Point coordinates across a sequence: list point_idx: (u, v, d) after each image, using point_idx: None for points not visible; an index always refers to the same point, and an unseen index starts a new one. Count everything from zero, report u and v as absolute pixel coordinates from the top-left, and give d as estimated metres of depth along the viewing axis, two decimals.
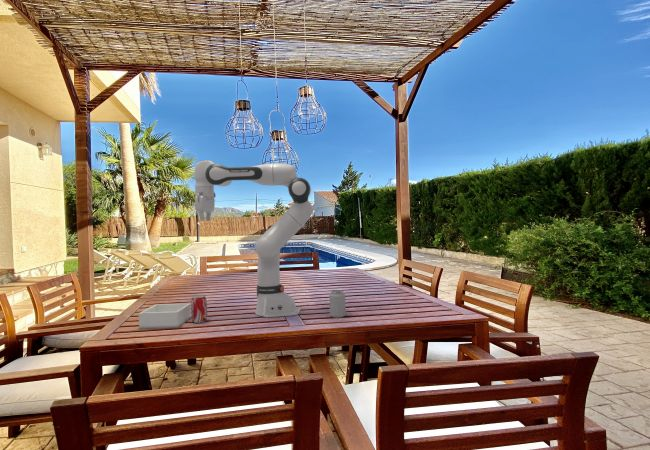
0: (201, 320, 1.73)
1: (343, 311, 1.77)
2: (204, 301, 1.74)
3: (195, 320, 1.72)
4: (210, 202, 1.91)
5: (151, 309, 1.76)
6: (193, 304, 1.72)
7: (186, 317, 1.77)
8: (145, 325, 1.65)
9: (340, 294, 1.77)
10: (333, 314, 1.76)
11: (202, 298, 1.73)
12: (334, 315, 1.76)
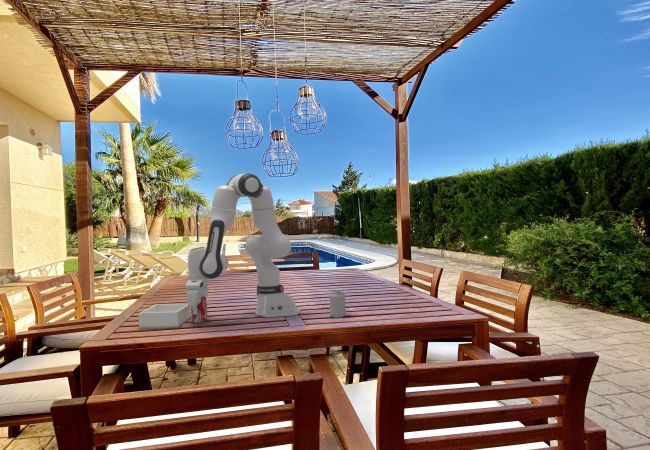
0: (201, 320, 1.72)
1: (343, 311, 1.77)
2: (204, 301, 1.74)
3: (195, 320, 1.72)
4: None
5: (151, 309, 1.76)
6: None
7: (186, 317, 1.77)
8: (145, 325, 1.65)
9: (340, 294, 1.77)
10: (333, 314, 1.76)
11: (202, 298, 1.73)
12: (334, 315, 1.76)
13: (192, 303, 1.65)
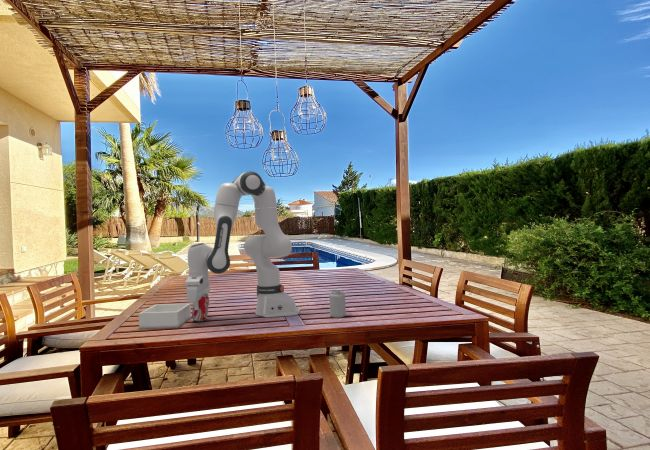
0: (201, 319, 1.74)
1: (343, 311, 1.77)
2: (206, 300, 1.75)
3: (195, 318, 1.73)
4: None
5: (151, 309, 1.76)
6: None
7: (186, 317, 1.77)
8: (145, 325, 1.65)
9: (340, 294, 1.77)
10: (333, 314, 1.76)
11: (205, 297, 1.74)
12: (334, 315, 1.76)
13: (192, 299, 1.66)
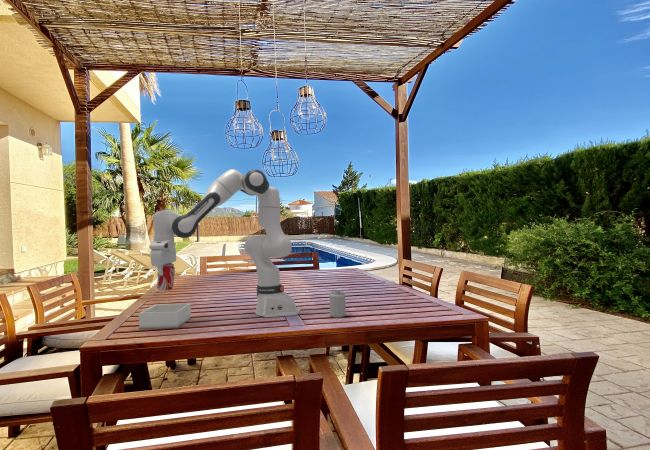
0: (166, 288, 1.71)
1: (343, 311, 1.77)
2: (172, 270, 1.72)
3: (160, 287, 1.71)
4: None
5: (151, 309, 1.76)
6: None
7: (186, 317, 1.77)
8: (145, 325, 1.65)
9: (340, 294, 1.77)
10: (333, 314, 1.76)
11: (170, 267, 1.72)
12: (334, 315, 1.76)
13: (156, 263, 1.64)
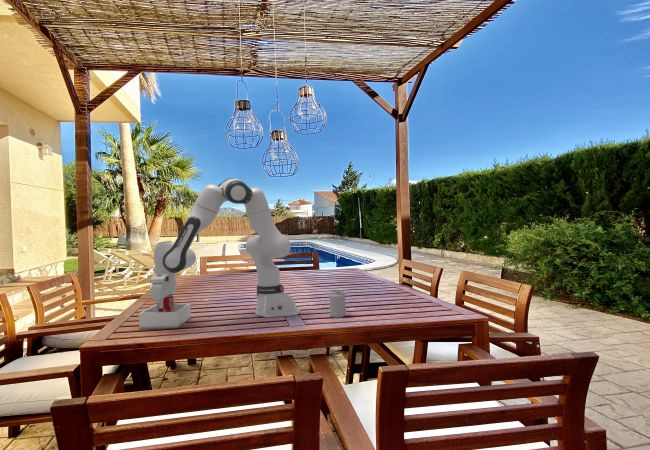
0: None
1: (343, 311, 1.77)
2: (171, 300, 1.72)
3: None
4: None
5: (151, 309, 1.76)
6: None
7: (186, 317, 1.77)
8: (145, 325, 1.65)
9: (340, 294, 1.77)
10: (333, 314, 1.76)
11: (169, 297, 1.72)
12: (334, 315, 1.76)
13: (156, 297, 1.64)
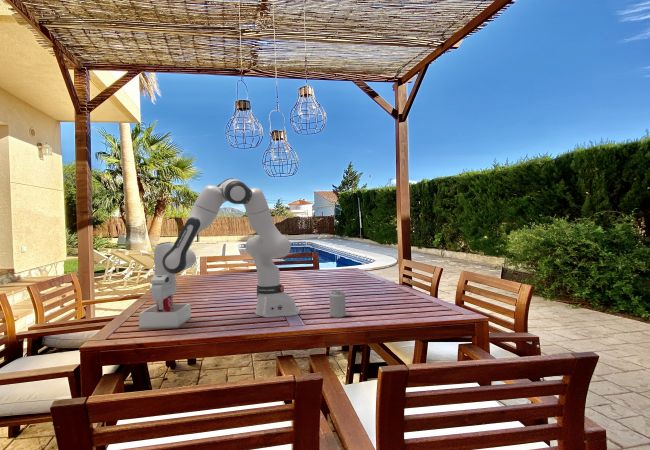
0: None
1: (343, 311, 1.77)
2: (169, 300, 1.73)
3: None
4: None
5: (151, 309, 1.76)
6: None
7: (186, 317, 1.77)
8: (145, 325, 1.65)
9: (340, 294, 1.77)
10: (333, 314, 1.76)
11: (167, 297, 1.72)
12: (334, 315, 1.76)
13: (157, 298, 1.64)
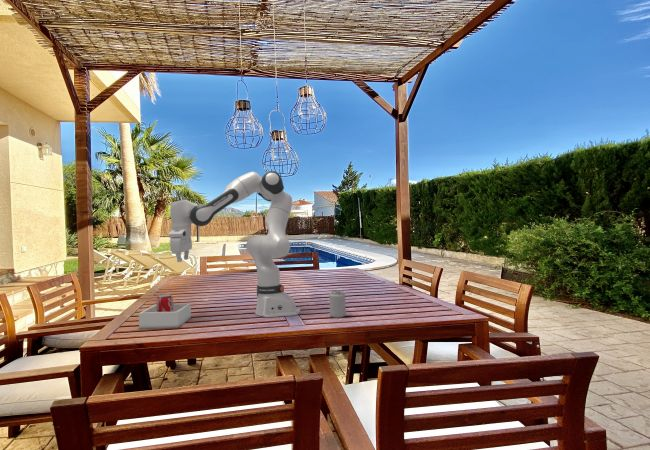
0: None
1: (343, 311, 1.77)
2: (170, 300, 1.73)
3: None
4: None
5: (151, 309, 1.76)
6: (158, 303, 1.71)
7: (186, 317, 1.77)
8: (145, 325, 1.65)
9: (340, 294, 1.77)
10: (333, 314, 1.76)
11: (167, 297, 1.72)
12: (334, 315, 1.76)
13: (175, 250, 1.74)
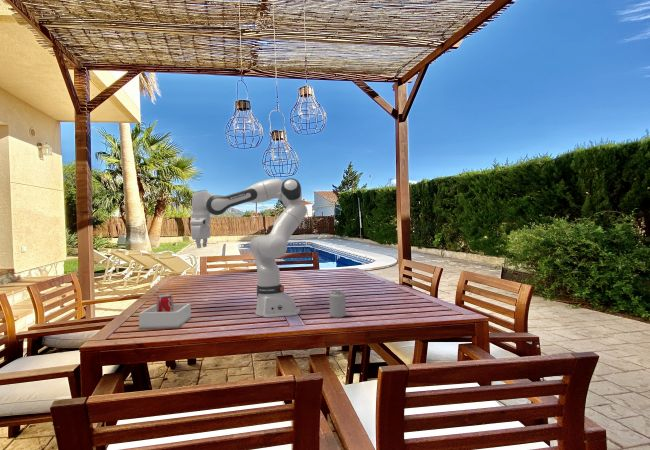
0: None
1: (343, 311, 1.77)
2: (170, 300, 1.73)
3: None
4: None
5: (151, 309, 1.76)
6: (158, 303, 1.71)
7: (186, 317, 1.77)
8: (145, 325, 1.65)
9: (340, 294, 1.77)
10: (333, 314, 1.76)
11: (168, 297, 1.72)
12: (334, 315, 1.76)
13: (196, 237, 1.88)
